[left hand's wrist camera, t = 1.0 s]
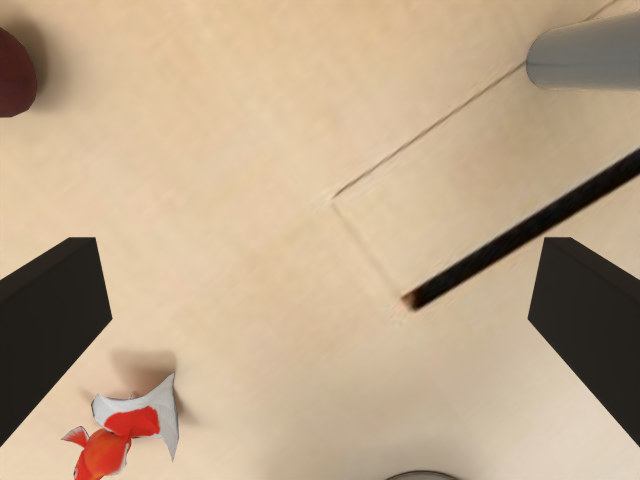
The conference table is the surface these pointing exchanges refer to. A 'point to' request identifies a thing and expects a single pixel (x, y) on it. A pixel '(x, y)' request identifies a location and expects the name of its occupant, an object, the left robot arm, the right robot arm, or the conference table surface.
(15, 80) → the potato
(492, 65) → the conference table surface
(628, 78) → the jar
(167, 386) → the fish
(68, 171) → the conference table surface
